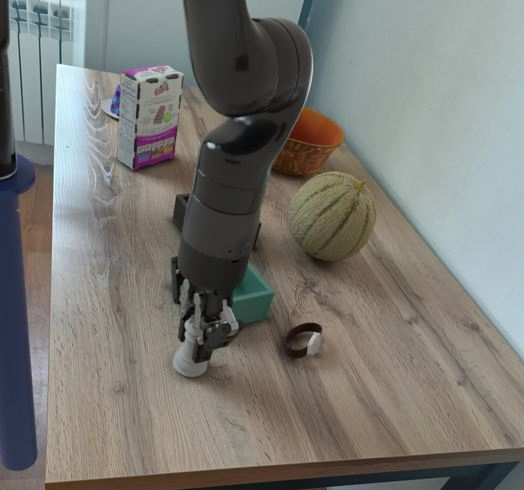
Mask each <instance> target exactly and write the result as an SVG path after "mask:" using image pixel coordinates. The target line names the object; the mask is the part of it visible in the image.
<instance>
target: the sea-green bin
mask: <svg viewBox="0 0 524 490" xmlns="http://www.w3.org/2000/svg"><path fill="white" fill-rule="evenodd" d="M170 283H171V284H170V289H172V281H171V282H170ZM182 290H183V285H182V286H181V287H180V294H181V293H182ZM275 294H276V292H275V291H274V290H273V288H272V287H271V286H270V285H269V283H268V282H267V281H266V280H265V279H264V278H263V276H261V274H260V273H259V272H258V271H257V270H256V268H255V267H254V266H253V265H252V263H250V262H249V263H248V266H247V270H246V273H245V277H244V279H243V280H242V282H241V283H240V284H239V285H238V286H237V287H236V288H235V290H234V291H233V306H232V308H231V311H232V313H233V315H234V317H235V320H239V319H242V320H243V322H244V325H246V324H250V323H254V322H258V321H262V320H266V319H267V318H268V315H269V313H270V309H271V306H272V304H273V303H272V302H273V299H274V297H275ZM211 331H212V328H211Z"/></svg>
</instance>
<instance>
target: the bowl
mask: <svg viewBox="0 0 524 490" xmlns="http://www.w3.org/2000/svg"><path fill="white" fill-rule="evenodd" d="M345 140H346V135H345V132H344V130H343V129H342V127H341V126H340V125H339V124H338V123H337V122H336V121H334V120H332V119H330V118H329V117H327V116H326V115H324V114H322V113H320V112H317V111H316V110H314V109H311V108H308V107H305V106H304V107H303V109H302V111H301V113H300V115H299V117H298V119H297V121H296V123H295V125H294V127H293V129H292V131H291V133H290V135H289V137H288V139H287V141H286V142H285V144H284V146H283V148H282V150H281V151H280V153H279V154H278V156H277V158H276V159H275V161H274V163H273V165H272V168H273V169H274V170H277V171H279V172H281V173H285V174H289V175H295V176H311V175H314V174H316V173H319V171H321V170H322V169H323V167H324V166H325V164H326V162H327V161H328V159H329V158H330V156H331V155H332V153H334V152H335V151H336V150H337V149H338V148H339V147H340V146H341V145H342V144H344V142H345ZM272 168H271V169H272Z"/></svg>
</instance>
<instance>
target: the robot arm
mask: <svg viewBox="0 0 524 490" xmlns="http://www.w3.org/2000/svg"><path fill="white" fill-rule="evenodd" d="M181 1H182V10H183V11H182V12H183V17H184V24H185V25H184V26H185V35H186V43H187V53H188V59H189V60H188V61H189V66H190V70H191V75H192V79H193V80H194V83H195V85H196V88H197V89H198V92H199V93H200V95H201V96H202V98H203V99H204V101H205V102H206V103H207V104H208V106H210V108H211V109H212V110H214V111H215V112H216V113H218V114H219V115H221V116H223V117H226V119H225V120H224V121H222V122H221V123H220V124H218V125H217V126H215V127H213V128H211V129H210V130H209V131H207V133H205V134H204V136H203V137H202V138H201V141H200V144H199V147H198V151H197V155H196V162H195V168H194V173H193V179H192V185H191V191H190V197H189V199H188V203H187V206H186V211H185V217H184V223H183V229H182V233H181V236H180V241H179V247H178V254H177V255H175V256H171V257H170V267H171V269H170V272H171V282H172V288H171V289H172V302H173V303H174V305H176V306H177V305H178V306H179V308H178V315H179V317H180V320H179V325H178V333H177V339H178V340H179V342H180V343H184V341H185V339H186V337H185V332H186V331H187V330H186V328H185V322H186V321H187V320H188V319H189V318H191V315H193V314H195V319H194V323H195V325H196V326H197V327H198V330H197V339H196V341H195V346H194V350H193V355H192V360H193V361H194V363H195V364H197V363H202V362H205V361H210V360H212V355H213V351H215V350H219V349H222V348H223V349H224V348H228V346H230V344H231V343H233V341H234V340H235V339H236V338H237V337H238V336H239V335H240V334H241V333H242V332H243V331H244V329H245V324H244V322H243V320H242V319H239V320H235V317H234V315H233V313H232V311H231V308H232V306H233V291H234V290H235V288H236V287H237V286H238V285H239V284H240V283H241V282H242V280H243V279H244V277H245V273H246V270H247V266H248V263H250V259H251V256H252V251H253V249H252V248H253V245H254V241H255V237H256V234H257V230H258V226H259V221H260V219H261V210H262V207H263V201H264V198H265V194H266V191H267V188H268V183H269V180H270V177H271V172H272V165H273V163H274V161H275V159H276V158H277V156H278V154H279V153H280V151H281V150H282V148H283V146H284V144H285V142H286V141H287V139H288V137H289V135H290V133H291V131H292V129H293V127H294V125H295V123H296V121H297V119H298V117H299V115H300V113H301V111H302V109H303V107H305V105H306V102H307V100H308V96H309V93H310V90H311V87H312V81H313V75H314V52H313V48H312V45H311V41H310V39H309V36H308V34H307V33H306V32H305V30H304V29H303V28H302V27H301V26H300V25H299V24H297V22H295V21H293V20H291V19H287V18H283V17H251V14H250V11H249V8H248V4H247V0H181ZM10 22H11V21H10V0H0V182H1V181H5V180H8V179H10V178H12V177H14V176H15V175H16V173H17V171H18V168H17V154H18V149H17V146H16V138H15V125H14V111H13V99H12V84H11V83H12V82H11V73H10V56H9V50H10V45H11V27H10V26H11V25H10ZM182 285H183V290H182V293H181V294H180V287H181V286H182ZM204 317H205V318H204ZM208 328H212V331H211V332H207V333H206V330H207V329H208Z"/></svg>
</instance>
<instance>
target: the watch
mask: <svg viewBox="0 0 524 490" xmlns="http://www.w3.org/2000/svg"><path fill="white" fill-rule="evenodd" d="M309 332H310V333H313V334H312V336H311V337H310V340H309V341H308V343H307V345H306V346H305V347H303V348H301V349H293V348H291V347H289V346H288V344H289V343H290V342H291V341H292V340H293V339H295V338H296V337H297V336H299V335H300V334H302V333H309ZM322 333H323V326H322V325H321V324H319V323H317V322H303V323H301V324H298V325H297V326H295V327H292V328H291V329H290V330H289V331H288V333H287V334H286V336H285V338H284V347H283V348H284V349H283V350H284V354H285V355H286V357H288V358H290V359H295V360H298V359H302V358H304V357H306V356H308V355H309V356H314V355H315V354H316V353H317V351H318V350H319V348H320V345H321V340H322Z"/></svg>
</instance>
